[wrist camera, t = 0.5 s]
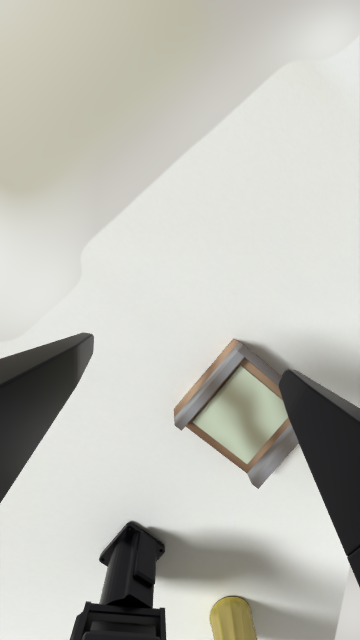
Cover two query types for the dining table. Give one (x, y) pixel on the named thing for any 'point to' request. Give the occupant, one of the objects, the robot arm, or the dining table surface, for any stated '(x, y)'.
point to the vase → (232, 620)
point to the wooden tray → (240, 412)
